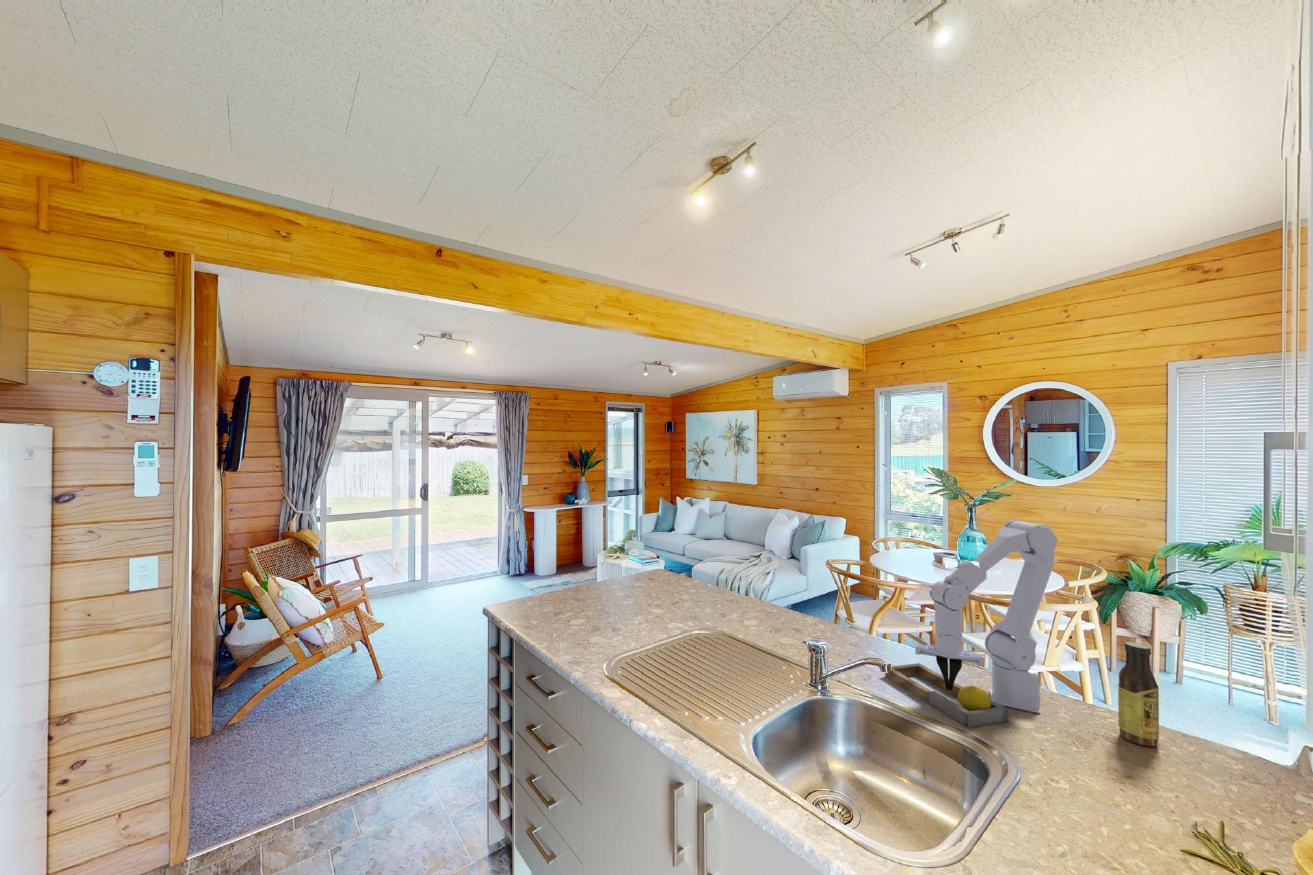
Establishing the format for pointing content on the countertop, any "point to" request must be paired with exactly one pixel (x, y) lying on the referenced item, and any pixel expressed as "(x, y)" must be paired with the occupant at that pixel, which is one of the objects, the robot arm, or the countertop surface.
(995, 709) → the tray
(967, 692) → the lemon
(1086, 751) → the countertop surface
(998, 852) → the countertop surface
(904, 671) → the slot rails
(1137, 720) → the sauce bottle
